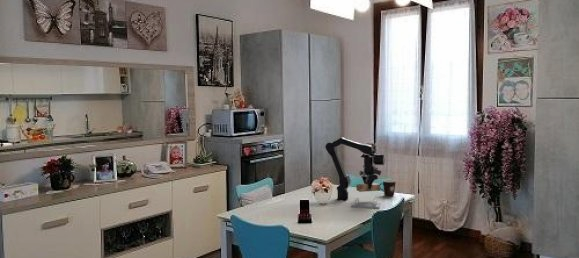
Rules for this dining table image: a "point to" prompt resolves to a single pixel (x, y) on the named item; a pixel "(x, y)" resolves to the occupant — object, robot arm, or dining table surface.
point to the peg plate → (366, 204)
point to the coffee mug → (388, 187)
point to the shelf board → (368, 188)
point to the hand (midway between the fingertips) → (368, 188)
